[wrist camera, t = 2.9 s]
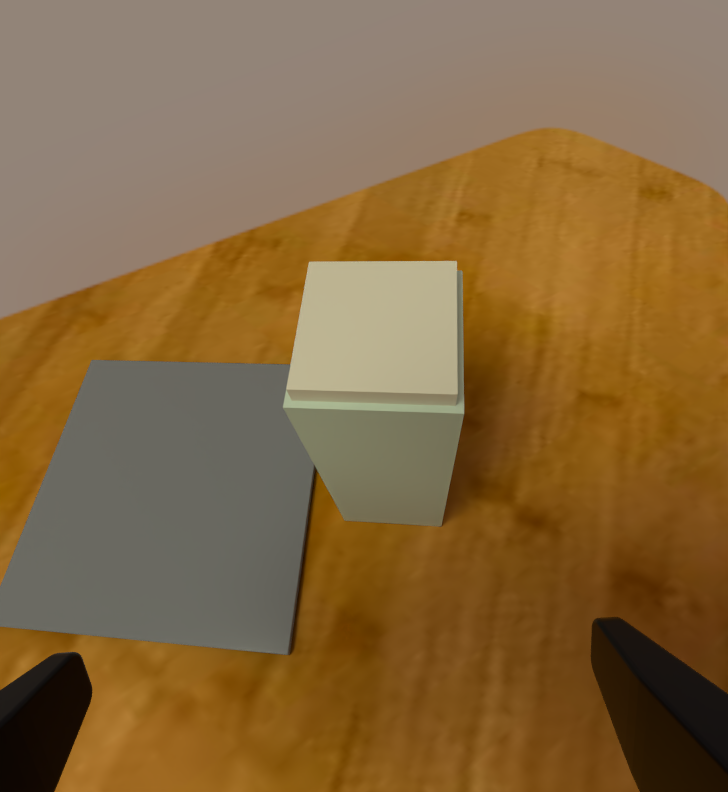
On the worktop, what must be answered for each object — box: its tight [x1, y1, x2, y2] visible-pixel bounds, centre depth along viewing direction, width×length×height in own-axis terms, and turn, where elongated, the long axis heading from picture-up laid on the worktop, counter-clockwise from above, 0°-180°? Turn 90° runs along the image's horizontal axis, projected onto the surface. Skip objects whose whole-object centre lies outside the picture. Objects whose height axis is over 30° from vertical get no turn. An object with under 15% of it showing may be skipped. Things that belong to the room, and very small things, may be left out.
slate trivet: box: [0, 360, 315, 655], centre depth 24 cm, size 14×14×1 cm
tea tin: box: [283, 261, 464, 527], centre depth 18 cm, size 4×4×13 cm
